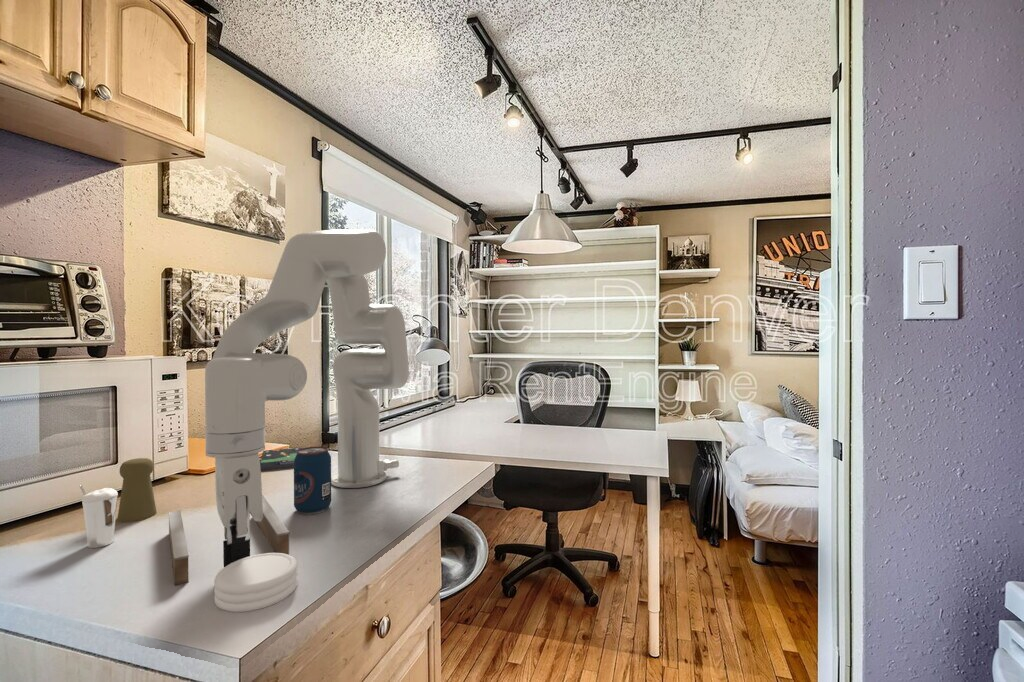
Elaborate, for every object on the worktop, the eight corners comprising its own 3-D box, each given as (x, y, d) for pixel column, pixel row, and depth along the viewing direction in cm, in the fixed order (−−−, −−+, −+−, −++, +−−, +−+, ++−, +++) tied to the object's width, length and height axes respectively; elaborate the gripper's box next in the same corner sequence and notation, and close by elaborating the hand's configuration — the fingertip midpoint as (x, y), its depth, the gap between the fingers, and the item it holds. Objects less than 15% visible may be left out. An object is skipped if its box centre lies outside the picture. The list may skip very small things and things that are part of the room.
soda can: (285, 512, 94) (285, 452, 94) (312, 501, 100) (312, 444, 100) (313, 517, 91) (312, 455, 91) (338, 505, 98) (338, 447, 98)
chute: (262, 514, 93) (262, 495, 93) (289, 555, 76) (289, 531, 76) (168, 533, 84) (168, 512, 84) (174, 585, 67) (174, 558, 67)
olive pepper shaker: (134, 523, 89) (134, 464, 89) (108, 520, 90) (108, 462, 90) (164, 511, 95) (164, 456, 95) (139, 509, 96) (139, 454, 96)
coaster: (308, 573, 70) (308, 550, 70) (280, 612, 60) (279, 585, 60) (238, 576, 70) (238, 552, 70) (197, 616, 60) (197, 588, 60)
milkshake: (91, 539, 82) (91, 481, 82) (125, 537, 82) (124, 480, 82) (69, 550, 77) (68, 489, 77) (104, 549, 78) (104, 488, 78)
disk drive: (262, 460, 136) (258, 473, 123) (262, 450, 136) (258, 462, 123) (302, 456, 141) (302, 468, 127) (302, 447, 141) (302, 458, 127)
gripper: (275, 447, 66) (276, 579, 66) (255, 430, 78) (256, 542, 78) (211, 455, 61) (212, 597, 62) (200, 436, 73) (201, 555, 73)
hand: (236, 566), depth 70 cm, fingers closed
